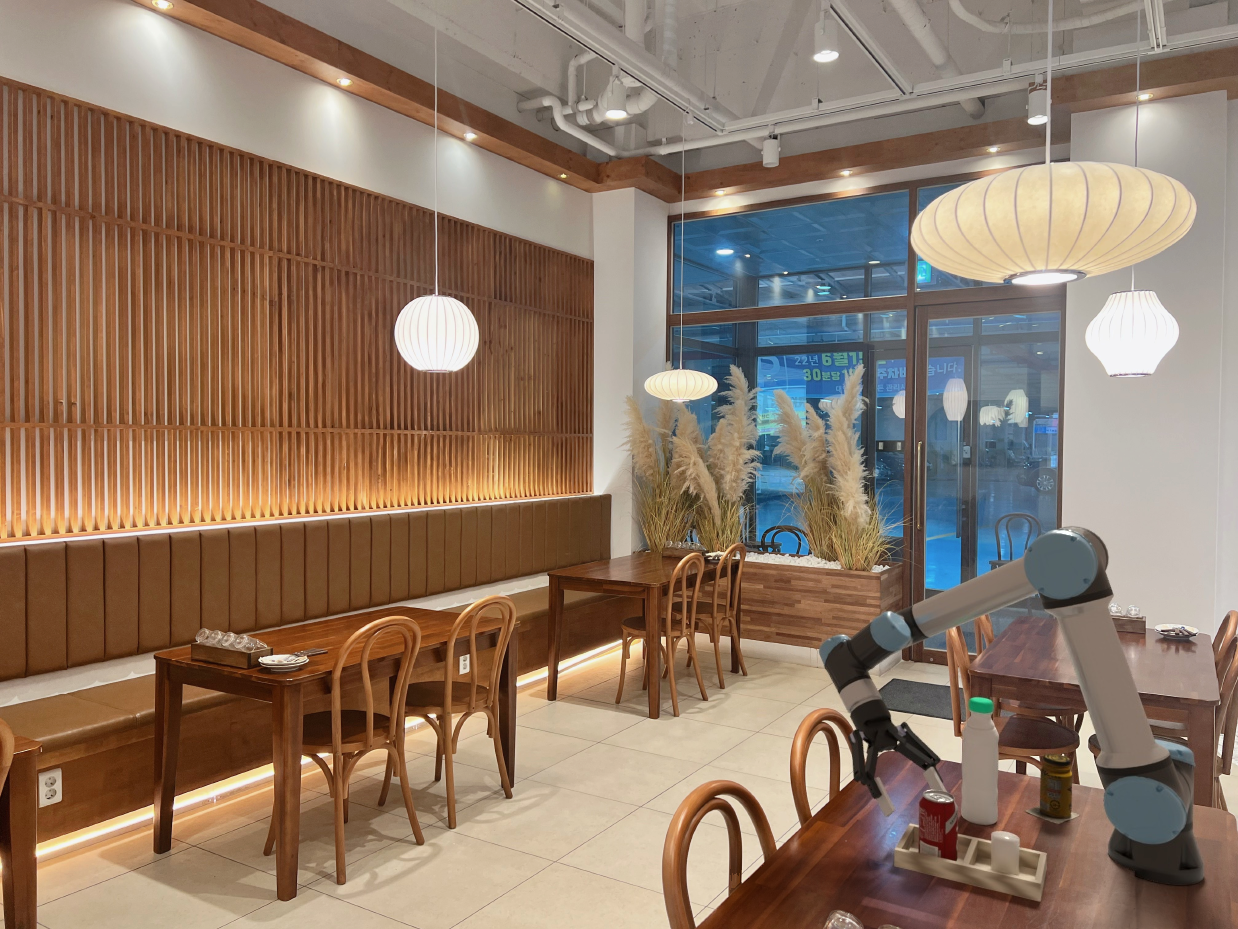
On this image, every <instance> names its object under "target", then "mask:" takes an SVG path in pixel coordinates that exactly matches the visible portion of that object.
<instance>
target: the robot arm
mask: <svg viewBox="0 0 1238 929" xmlns="http://www.w3.org/2000/svg"><path fill="white" fill-rule="evenodd" d="M1109 558H1110V556H1109V551H1108V548H1107V545H1106V543H1105V542H1104V541H1103V539H1102V538H1101V537H1100V536H1099V535H1098V534H1096V533H1095V532H1094V531H1092V530H1090V529H1088V528H1085V527H1081V526H1078V525H1077V526H1075V525H1071V526H1070V525H1069V526H1063V527H1060V528H1057V529H1051V530H1049V531H1045V532H1043V533H1042V534H1040V535H1039V536H1037V537H1035V539H1034V540H1033V541H1032V542H1031V544H1030V545H1029V546H1028V547H1027V548H1026V549H1025V550H1024V554H1023V556H1022V557H1019V558H1017V559H1014V560H1012V561H1010V562H1008V563H1005V564H1003V565H1001V566H999V567H997V568H994V569H992V570H989V571H987V572H986V573H983V574H981V575H979V576H978V575H977V576H976V577H974V578H972V579H969V580H967V581H965V582H963V583H960V584H957V585H955V586H954V587H950V588H949V589H946V590H945V591H942V592H939V593H938V594H935V595H932V596H931V597H928V598H925V599H924V600H922V601H919V602H916V603H915V604H913V605H911V606H908V607H905V608H904V609H901V610H898V611H896V612H893V611H891V610H888V611H885V612H882V614H880V615H878V616H876V617H875V618H873V619H872V621H870V622H869V623H868V624H867V625H865V626H864V627H863V628H861V629H860V630H859V631H858V632H856V633H855V634H854V635H853V636H850V637H849V636H848V635H846V634H836V635H834V636H832V637H830V638H827V639H826V640H824V641H823V642H822V643H821V645H820V646H819V649H818V654H819V657H820V659H821V662H822V664H823V667H824V669H825V671H826V672H827V674H828V676H829V677H830V679H831V681H832V683H833V685H834V687H835V689H836V690H837V694H838V695H839V697H840V699H841V701H842V703H843V706H844V708H845V710H846V711H847V713H848V714H850V715H849V717H850V720H851V722H852V723H853V725H854V727H855V729H854V730H853V731H851V733H850V734H849V735H848V736H847V737H848V741H849V743H850V746H851V756H852V757H851V758H852V774H853V775H852V776H853V780H854V781H855V782H856V783H858V782H860V784H861V785H862V786H866V787H867V788H868V791H869V792H870V794H871V796H872V798H873V799H874V800H876V802H877V804H878V806H879V807H880V809H881V810H880V811H882V814H883V815H884V817H885V818H888V817H890V816H891V815H893V813H895V811H897V810H896V808H895V805H894V804H893V802H892V800H891V798H890V796H889V794H888V792H887V790H886V788H885V785H884V783H883V782H882V780H881V778H880V776H878V777H875V776H876V771H877V770H876V769H877V766H878V765H877V764H878V760H879V759H878V758H879V753H883V752H884V751H887V752H890V751H894V752H896V753H899V754H901V755H902V756H904V757H905V758H907V759H908V760H909V761H910V762H912V763H913V764H914V765H916V766H918V767H919V768H920V769H922V770H924V772H923V773H922V775H923V776H924V778H925V780H926V782H927V783H928V786H929V788H930V790H940V791H945V792H948V791H947V789H946V787H945V786H944V780H943V778H942V776H941V775H940V772H939V770H938V769H937V765H938V764H939V763H940V762H941V761H942V759H941V757H940V756H938V755H937V754H936V753H935V751H933V750H932V749H931V748H930V747H929V745H927V744H926V743H925V741H923V740H922V739H921V738H920V737H919V735H917V734H916V733H915V732H914V731H913V730H912V728H911V727H910V726H909V724H908V723H907V722H906V721H903V722H902V723H901V724H900V725H895V724H894V723H893V721H892V714H891V712H890V711H889V709H888V706H887V705H886V703H885V701H884V700H882V696H881V694H880V692H879V690H878V688H877V687H876V684H875V682H874V681H873V679H872V677H871V675H870V670H873V669H874V668H876V666H878V665H879V664H880V663H882V662H884V661H885V660H887V659H888V658H890V657H891V656H893V655H894V654H896V653H898V652H900V651H902V650H904V649H907V648H908V647H911V646H913V645H915V644H918V643H920V642H922V641H925V640H928V639H929V638H932V637H935V636H937V635H939V634H942V633H944V632H947V631H949V630H951V629H955V628H956V627H958V626H962V625H963V624H966V623H968V622H971V621H973V620H976V619H979V618H980V617H983V616H986V615H989V614H990V613H994V612H996V611H998V610H1001V609H1003V608H1006V607H1008V606H1010V605H1013V604H1015V603H1018V602H1021V601H1023V600H1025V599H1027V598H1031V597H1033V596H1035V595H1038V596H1039V598H1040V601H1041V604H1042V607H1043V610H1044V611H1045V612H1046V613H1048V614H1049V615H1051V616H1053V617H1054V618H1056V621H1057V622H1058V626H1059V628H1060V631H1061V632H1060V633H1061V635H1062V638H1063V640H1064V643H1065V647H1066V650H1067V652H1068V653H1067V654H1068V655H1069V659H1070V661H1071V665H1072V667H1073V671H1074V673H1075V676H1076V679H1077V682H1078V686H1079V688H1080V691H1081V693H1082V697H1083V700H1084V703H1085V705H1086V708H1087V711H1088V716H1089V718H1090V720H1091V723H1092V726H1093V727H1092V728H1093V730H1094V732H1095V733H1094V734H1095V736H1096V739H1097V741H1098V744H1099V748H1100V753H1099V754H1098V756H1097V757H1096V759H1095V764H1096V767H1097V770H1098V772H1099V777H1100V781H1101V782H1102V785H1103V788H1104V793H1103V808H1104V812H1105V814H1106V817H1107V819H1108V820H1109V822H1110V823H1111V825H1112V826H1113V827H1114V828H1113V831H1112V833H1111V836H1110V838H1109V841H1108V844H1107V854H1108V856H1109V857H1110V858H1111V859H1112V860H1113V861H1114V862H1116V863H1117V864H1119V865H1120V866H1122V867H1123V868H1126V869H1128V870H1130V871H1132V872H1134V876H1135V877H1137V878H1141V879H1143V880H1146V881H1151V882H1154V883H1160V884H1165V885H1172V886H1173V885H1174V886H1189V885H1194V884H1198V883H1200V882H1202V881H1203V879H1204V871H1205V865H1204V860H1203V858H1202V855H1201V852H1200V848H1199V845H1198V842H1197V840H1196V836H1195V834H1194V799H1195V798H1194V793H1195V792H1194V791H1195V790H1194V789H1195V786H1194V785H1195V768H1196V763H1195V753H1194V752H1193V751H1192V750H1191V749H1190V748H1189V747H1187V746H1184V745H1182V744H1178V743H1175V742H1170V741H1166V740H1162V739H1156V738H1155V737H1154V735H1153V731H1152V727H1151V725H1150V723H1149V720H1148V717H1147V714H1146V711H1145V709H1144V708H1145V707H1144V705H1143V703H1142V700H1141V698H1140V695H1139V690H1138V689H1137V685H1136V684H1135V683H1136V682H1135V680H1134V677H1133V674H1132V672H1131V669H1130V666H1129V662H1128V659H1127V658H1126V654H1125V652H1124V648H1123V645H1122V643H1121V640H1120V636H1119V634H1118V632H1117V629H1116V626H1115V623H1114V620H1113V618H1112V614H1111V612H1110V610H1109V609H1110V608H1109V605H1110V603H1111V601H1112V600H1113V598H1114V597H1115V594H1114V593H1113V589H1112V586H1111V582H1110V580H1109V578H1108V574H1107V569H1108V566H1109ZM864 742H865V743H866V744H867V746H866V747H867V749H866V759H865V751H864V750H865V747H864Z"/></svg>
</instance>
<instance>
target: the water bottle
mask: <svg viewBox="0 0 1238 929" xmlns="http://www.w3.org/2000/svg"><path fill="white" fill-rule="evenodd" d="M968 711H969V712H970V717H969V718H968V719H967V720H966V723H965V725H964V727H963V729H962V738H963V740H962V748H961V750H962V751H961V753H962V754H961V774H962V775H961V777H962V783H961V789H960V790H961V792H960V793H961V805H960V815H961V816H962V818H963V819H964V820H965V821H967V822H969V823H971V824H975V825H981V826H989V825H993V824H995V823H997V821H998V818H999V817H998V816H999V813H998V812H999V811H998V810H999V809H998V799H999V792H998V791H999V790H998V781H999V780H998V779H999V745H998V744H999V741H1000V735H999V732H998V730H997V728H996V726H995V722H994V720H992V714H994V713H993V712H994V702H993V701H992V700H991V699H989V698H985V697H979V696H978V697H971V698H970V699H968Z"/></svg>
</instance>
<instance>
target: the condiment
mask: <svg viewBox="0 0 1238 929" xmlns="http://www.w3.org/2000/svg"><path fill="white" fill-rule="evenodd" d="M1071 763H1072V762H1071V758H1069V757H1067V756H1065V755H1064V754H1063V755H1062V754H1057V753H1046V754H1044V755H1042V764H1041V765H1042V766H1041V768H1040V777H1039V778H1040V779H1039V782H1040V784H1039V806H1035V807H1033V808H1030V809H1026V810H1025V812H1026V813H1028V814H1031V815H1032V816H1035V817H1038V818H1041V819H1043V820H1044V821H1048V822H1051V823H1053V824H1056V825H1059V824H1063V823H1064V822H1066V821H1070V820H1072V819H1075V818H1078V817H1079V816H1080V815H1081V814H1078V813H1076V812H1073V811H1072V808H1073V806H1072V805H1073V803H1072V802H1073V800H1072V799H1073V797H1072V796H1073V772H1072V771H1071V769H1072V768H1071V767H1072V766H1071Z"/></svg>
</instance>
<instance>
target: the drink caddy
mask: <svg viewBox="0 0 1238 929" xmlns="http://www.w3.org/2000/svg"><path fill="white" fill-rule="evenodd" d="M918 845H919V824H914V823H909V824H908V826H907V828H905V831H904V832H903V834H902V836H901V837H900V839H899V841H898V842H897V844H896V846H895V848H894V862H893V866H894V867H896V868H900V869H905V870H909V871H913V872H916V873H921V874H925V875H929V876H934V877H937V878H941V879H946V880H950V881H954V882H958V883H960V884H961V883H962V884H966V885H970V886H974V887H979V888H981V889H986V890H989V891H994V892H995V891H996V892H999V893H1003V894H1008V895H1011V896H1015V897H1020V898H1023V899H1027V900H1032V901H1036V902H1039V903H1040V902H1042V901H1041V900H1042V896H1043V891H1044V886H1045V881H1046V874H1047V870H1048V869H1047V867H1048V866H1047V865H1048V864H1047V863H1048V853H1047V852H1044V851H1039V850H1034V849H1030V848H1025V847H1020V846H1019V876H1017V875H1012V874H1008V873H1004V872H999V871H995V870H991V840H989V839H983V838H980V837H975V836H970V835H966V834H960V833H958V852H957V862H956V861H952V860H948V859H944V858H939V857H935V856H931V855H926V854H922V853H918Z"/></svg>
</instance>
